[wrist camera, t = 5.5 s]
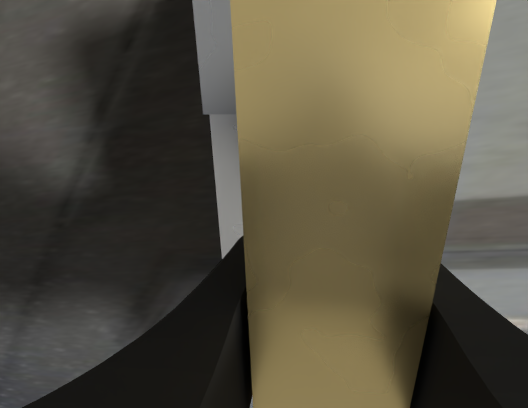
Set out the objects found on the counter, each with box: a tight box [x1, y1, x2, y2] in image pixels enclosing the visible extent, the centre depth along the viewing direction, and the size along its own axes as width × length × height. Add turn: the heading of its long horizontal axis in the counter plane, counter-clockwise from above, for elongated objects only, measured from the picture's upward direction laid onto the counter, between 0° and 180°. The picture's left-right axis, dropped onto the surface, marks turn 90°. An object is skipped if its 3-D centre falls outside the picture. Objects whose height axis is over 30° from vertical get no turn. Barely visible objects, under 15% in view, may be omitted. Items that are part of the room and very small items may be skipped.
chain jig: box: [192, 0, 243, 259], centre depth 13 cm, size 14×8×2 cm, turn 2°
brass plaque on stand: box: [230, 0, 496, 408], centre depth 10 cm, size 13×3×6 cm, turn 1°
